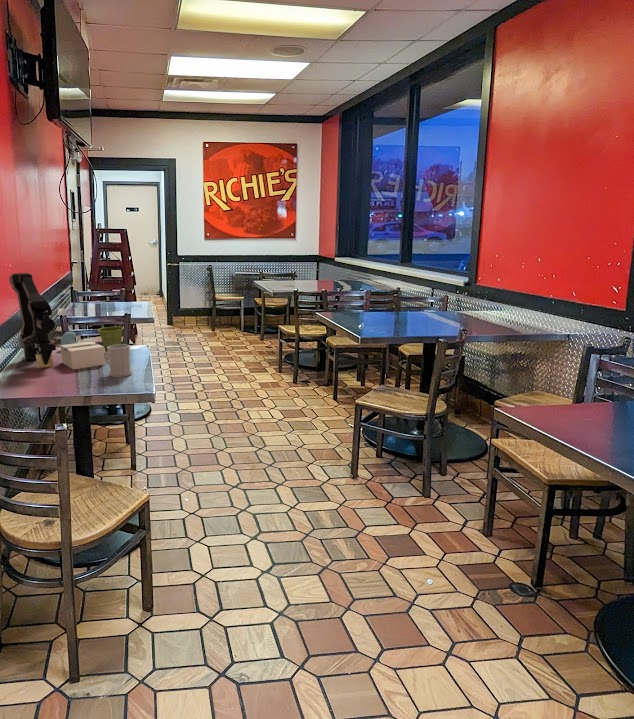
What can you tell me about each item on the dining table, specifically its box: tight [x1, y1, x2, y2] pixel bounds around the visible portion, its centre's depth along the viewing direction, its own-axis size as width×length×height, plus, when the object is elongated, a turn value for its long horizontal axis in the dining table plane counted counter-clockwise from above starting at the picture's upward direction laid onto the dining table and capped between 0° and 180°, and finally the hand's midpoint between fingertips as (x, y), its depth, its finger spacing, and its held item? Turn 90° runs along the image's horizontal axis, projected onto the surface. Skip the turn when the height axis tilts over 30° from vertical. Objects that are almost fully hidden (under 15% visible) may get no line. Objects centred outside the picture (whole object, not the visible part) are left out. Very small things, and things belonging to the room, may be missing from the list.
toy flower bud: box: [60, 331, 80, 345], centre depth 314 cm, size 7×9×12 cm
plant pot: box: [97, 326, 124, 353], centre depth 306 cm, size 12×12×11 cm
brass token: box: [35, 352, 54, 369], centre depth 278 cm, size 2×6×6 cm, turn 127°
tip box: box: [59, 341, 106, 370], centre depth 282 cm, size 16×14×8 cm
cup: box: [104, 343, 133, 378], centre depth 261 cm, size 10×9×12 cm
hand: (44, 364), depth 278 cm, fingers open, 3 cm apart
